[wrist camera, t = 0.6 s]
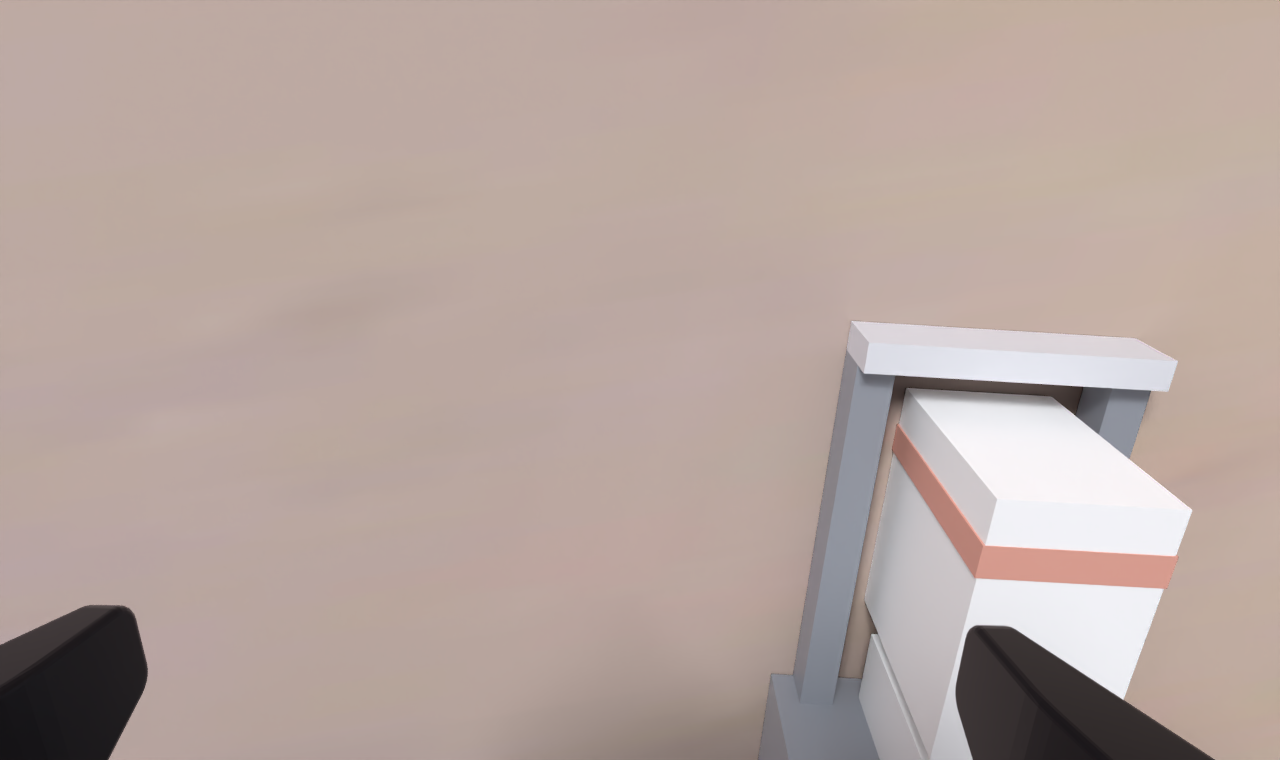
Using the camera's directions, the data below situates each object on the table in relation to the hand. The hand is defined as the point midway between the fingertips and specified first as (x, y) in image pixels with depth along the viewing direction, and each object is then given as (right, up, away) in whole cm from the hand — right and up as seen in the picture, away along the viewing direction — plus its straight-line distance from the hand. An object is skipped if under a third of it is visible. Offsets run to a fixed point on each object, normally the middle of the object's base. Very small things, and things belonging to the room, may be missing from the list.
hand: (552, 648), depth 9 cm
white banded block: (+10, -1, +14) cm, 18 cm away
